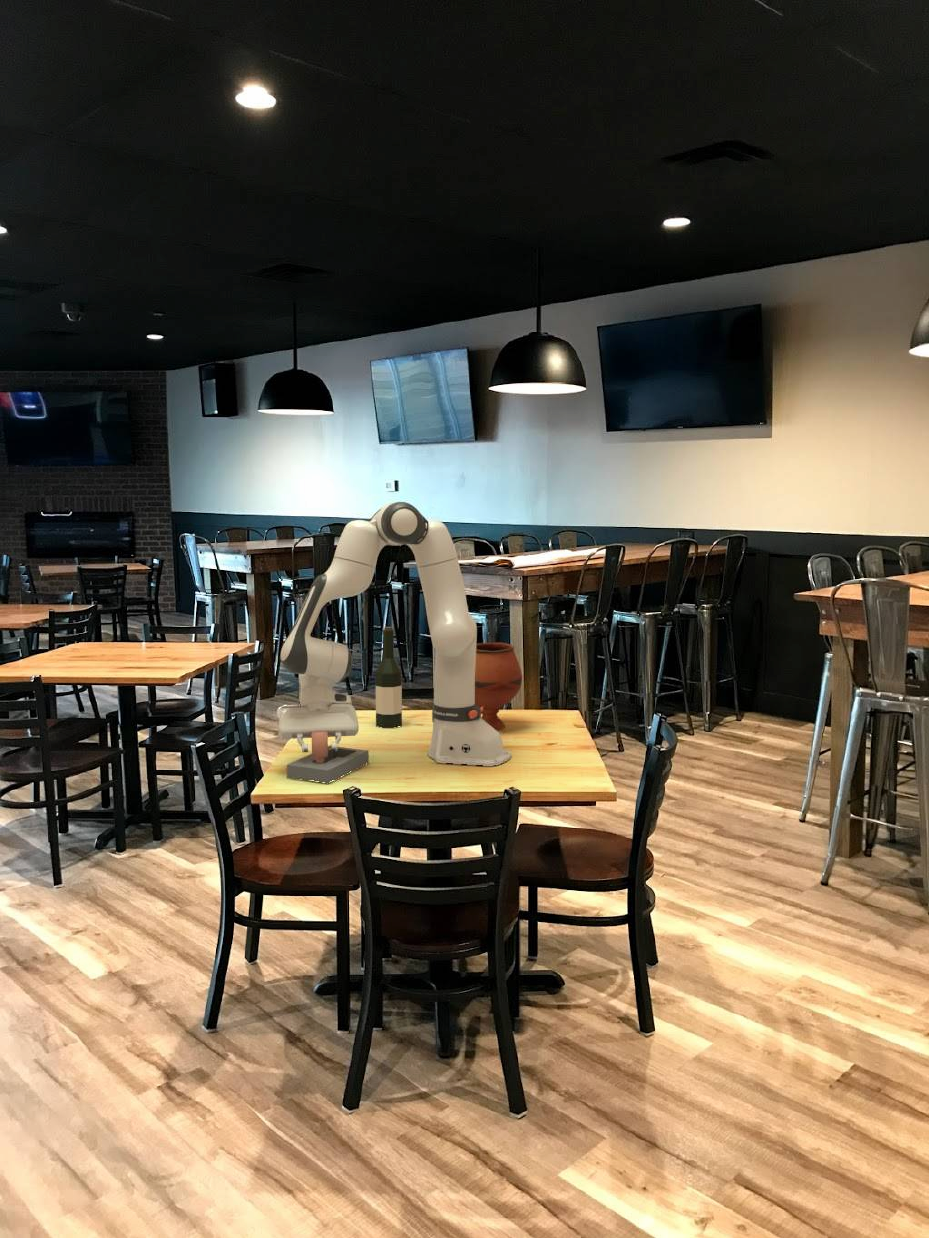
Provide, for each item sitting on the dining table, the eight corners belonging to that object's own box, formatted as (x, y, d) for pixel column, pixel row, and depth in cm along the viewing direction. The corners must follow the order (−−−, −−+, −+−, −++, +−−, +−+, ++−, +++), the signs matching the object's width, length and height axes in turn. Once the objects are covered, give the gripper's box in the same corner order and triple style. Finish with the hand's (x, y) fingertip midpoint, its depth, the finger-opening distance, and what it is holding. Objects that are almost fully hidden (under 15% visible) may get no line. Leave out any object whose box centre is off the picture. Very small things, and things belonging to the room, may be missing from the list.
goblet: (447, 731, 299) (447, 648, 295) (472, 717, 316) (472, 639, 313) (508, 738, 291) (509, 653, 288) (530, 723, 309) (531, 643, 305)
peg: (334, 773, 256) (333, 731, 254) (323, 778, 251) (322, 736, 250) (317, 771, 258) (316, 729, 256) (306, 776, 254) (305, 733, 252)
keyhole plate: (329, 758, 270) (329, 745, 270) (368, 763, 265) (368, 750, 265) (287, 778, 252) (286, 764, 251) (328, 784, 247) (328, 770, 247)
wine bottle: (370, 726, 304) (369, 628, 300) (382, 720, 312) (381, 624, 308) (395, 729, 301) (394, 630, 297) (407, 723, 309) (406, 626, 305)
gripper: (276, 698, 257) (277, 746, 249) (356, 695, 261) (360, 742, 253) (276, 711, 262) (277, 758, 254) (355, 708, 266) (359, 754, 258)
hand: (319, 750), depth 253 cm, fingers open, 6 cm apart
